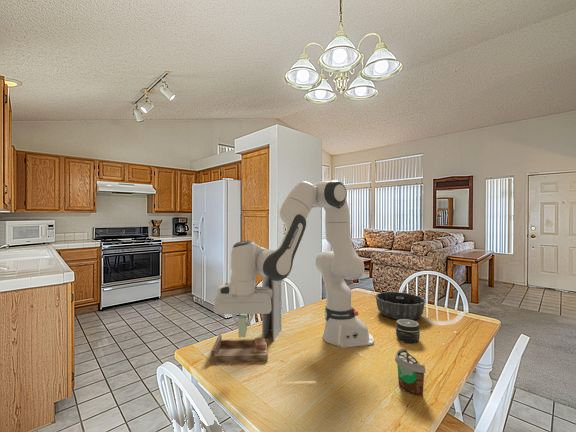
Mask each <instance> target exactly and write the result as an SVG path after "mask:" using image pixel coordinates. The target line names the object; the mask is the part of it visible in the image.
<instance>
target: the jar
mask: <svg viewBox="0 0 576 432" xmlns="http://www.w3.org/2000/svg"><path fill="white" fill-rule="evenodd" d="M420 325H421V324H420V322H418V321H416V320H413V319H412V320H409V319H400V318H399V319H396V322H395V337H396V338H397V340H398V341H399V342H401V341H402V343H405V344H410V345H411V344H412V345H413V343H414V344H418V342H419V340H420V338H421V337H420V336H421V333H420V332H421V327H420Z"/></svg>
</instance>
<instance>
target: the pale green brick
mask: <svg viewBox="0 0 576 432" xmlns="http://www.w3.org/2000/svg"><path fill="white" fill-rule="evenodd" d="M238 320H239V326H238V338H246V337H247V333H248V326H246V321H247V320H248V314H239V317H238Z"/></svg>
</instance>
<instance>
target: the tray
mask: <svg viewBox="0 0 576 432" xmlns="http://www.w3.org/2000/svg"><path fill="white" fill-rule="evenodd" d="M222 338H223V336H222V334H219V335H218V336H217V338H216V341H215V343H214V345H213V346H212V349H211V351H210V352H211V355H210V356H211V361H210V363H216V364H217V363H252V362H254V363H255V362H256V363H258V362H260V363H262V362H266V363H267V362H268V359H269V357H268V356H269V338H264V339H265V343H267V349H266V354H254V349H255V338H246V339H245V338H243V339H241V338H239V339H236V338H235V339H222Z"/></svg>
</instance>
